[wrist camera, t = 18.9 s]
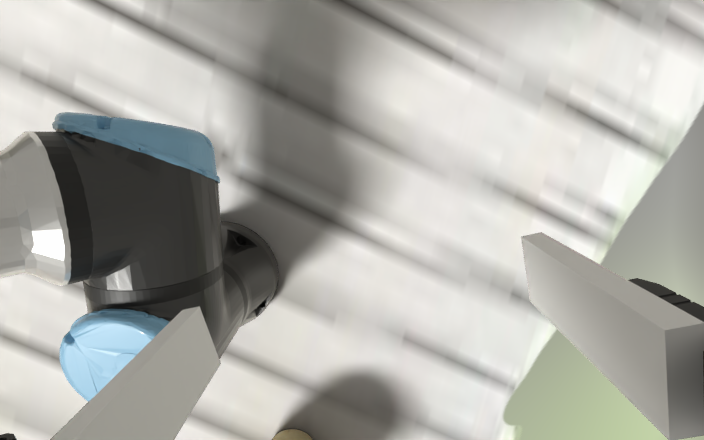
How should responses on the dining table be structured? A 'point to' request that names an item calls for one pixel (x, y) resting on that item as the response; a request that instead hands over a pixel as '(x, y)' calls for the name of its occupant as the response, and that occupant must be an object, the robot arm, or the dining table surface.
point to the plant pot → (292, 435)
